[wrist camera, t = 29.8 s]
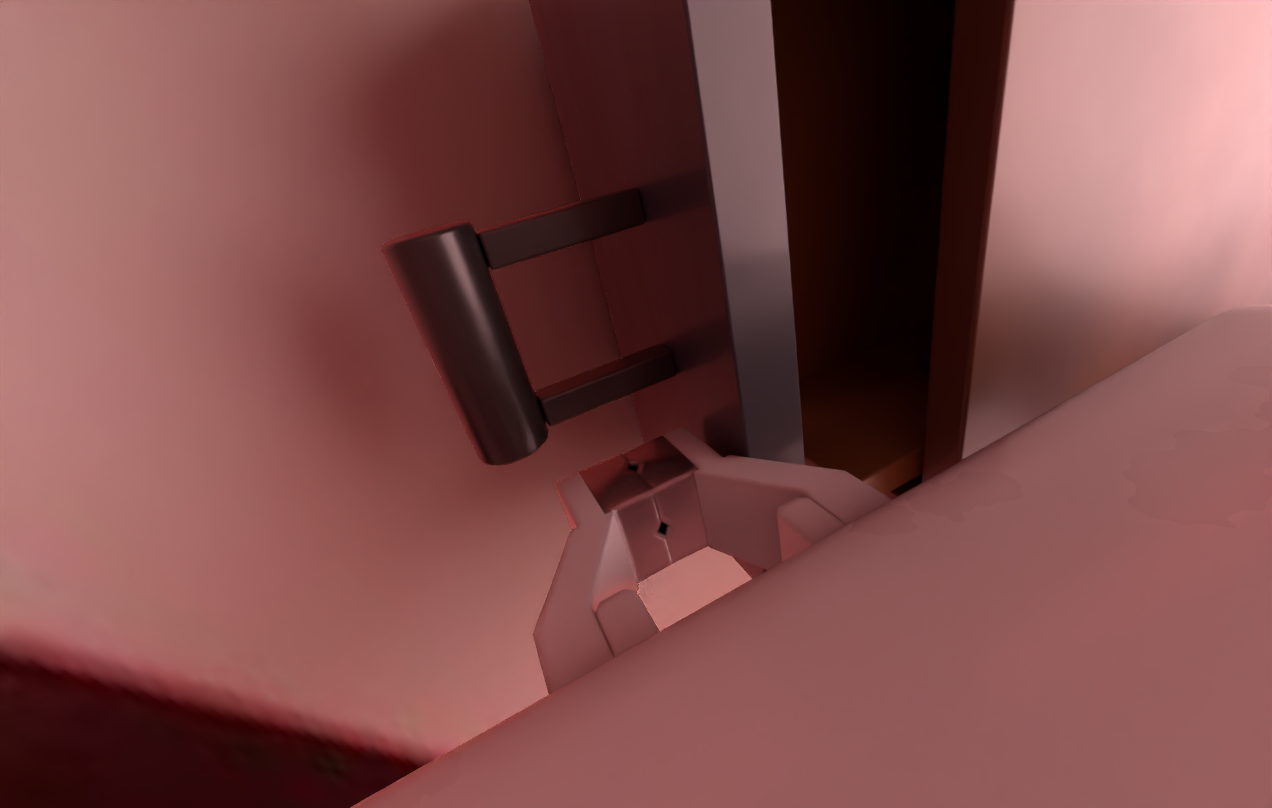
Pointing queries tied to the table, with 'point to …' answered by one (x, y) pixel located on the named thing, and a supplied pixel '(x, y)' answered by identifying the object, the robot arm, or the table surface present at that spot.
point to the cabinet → (1091, 199)
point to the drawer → (723, 232)
